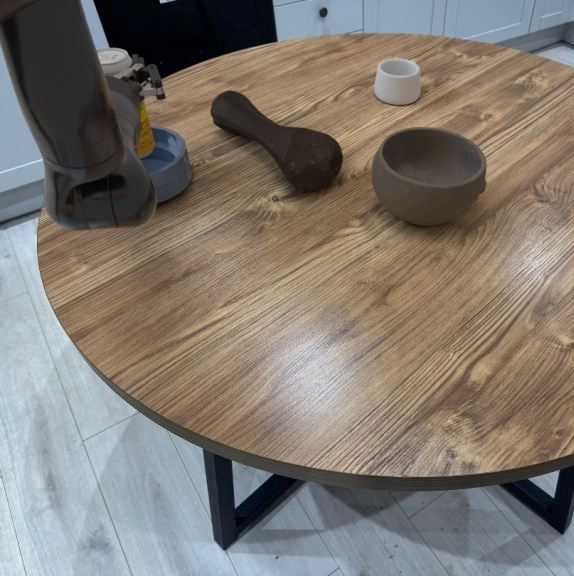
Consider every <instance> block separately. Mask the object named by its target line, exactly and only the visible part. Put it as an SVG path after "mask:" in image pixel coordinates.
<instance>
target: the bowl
mask: <svg viewBox="0 0 574 576" xmlns="http://www.w3.org/2000/svg"><path fill="white" fill-rule="evenodd" d="M370 175H371V184H372V187H373V190H374V192H375V195H376V197H377V198H378V200H379V201H380V203H381V204H382V205H383V206H384V208H386V210H388V211H389V213H391V214H392V215H393V216H395V217H396V218H398V219H400V220H402V221H403V222H407V223H409V224H412V225H416V226H419V227H420V226H422V227H433V226H440V225H444V224H447V223H450V222H454V221H457V220H458V219H460V218H461V217H463V216H464V215H465V214H467V213H469V212H470V210H471V209H472V208H473V207H474V205H475V204H476V202H477V201H478V199H479V197H480V195H481V194H484V192H485V190H486V186H487V184H488V183H487V179H486V175H487V159H486V156H485V153H484V152H483V150H482V149H481V148H480V147H479V145H477V144H476V143H475V142H474V141H473V140H471V139H469V138H467V137H465V136H463V135H461V134H459V133H458V132H453V131H450V130H447V129H442V128H437V127H427V126H425V127H424V126H414V127H406V128H402V129H399V130H397V131H395V132H393V133H391V134H389V135H388V136H386V137H385V138H384V140H383V141H382V142H381V144H380V145H379V147H378V149H377V150H376V151H375V154H374V156H373V158H372V161H371V173H370Z"/></svg>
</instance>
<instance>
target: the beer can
mask: <svg viewBox="0 0 574 576" xmlns="http://www.w3.org/2000/svg"><path fill="white" fill-rule="evenodd" d="M96 51H97V54H98V57H99V60H100V63H101V66H102V69H103V72H104V75H108V76H114V75H118V74H119V73H120V72H121V71H122V70H123V69H125V68H131V67H132V66H133V65H132V57H131V56H130V55H129V53H128V51H127V50H125V49H123V48H118V47H105V48H100V49H96ZM141 122H142V129H141V133H140V139H139V142H138V155H139V158H143V157H146V156H148V155H149V154H151V152H152V151H153V148H154V147H155V141H154V137H153V133H152V129H151V126H152V125H151V123H150V119H149V114H148V111H147V107H146V104H145V99H144V100H143V101H142V102H141Z"/></svg>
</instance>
